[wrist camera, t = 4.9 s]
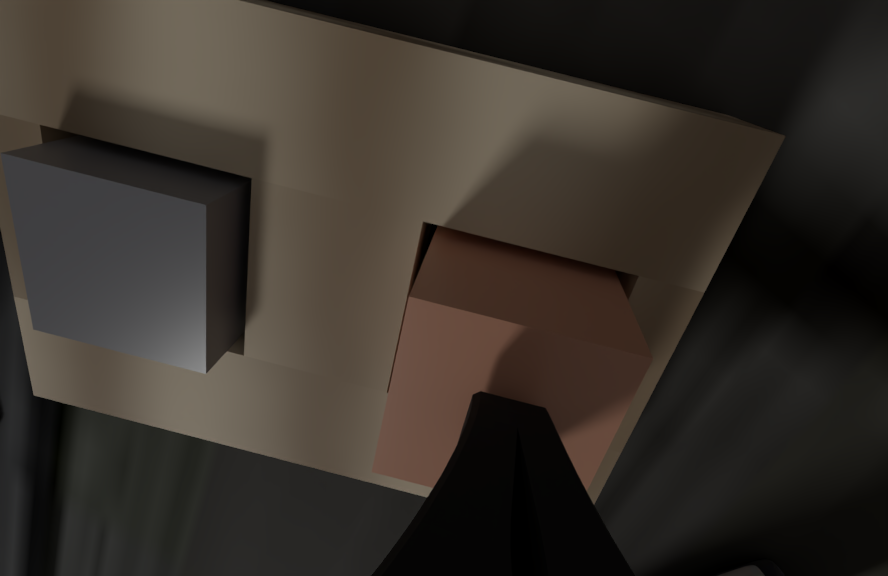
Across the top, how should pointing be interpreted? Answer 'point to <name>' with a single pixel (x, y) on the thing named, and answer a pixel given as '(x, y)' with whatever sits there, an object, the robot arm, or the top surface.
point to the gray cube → (131, 249)
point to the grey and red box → (754, 569)
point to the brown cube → (508, 352)
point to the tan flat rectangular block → (360, 199)
